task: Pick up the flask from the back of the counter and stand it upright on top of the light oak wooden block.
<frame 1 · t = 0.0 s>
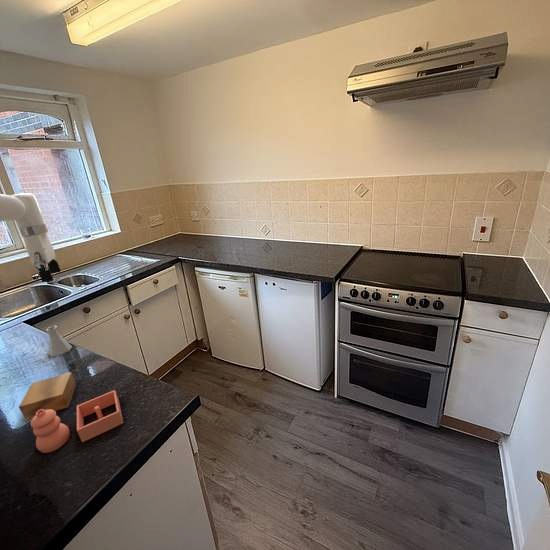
hand: (52, 276, 109), 26 cm above the countertop, tool pointing down, fingers open, 9 cm apart
pottery: (82, 430, 75), on the countertop
oak block: (53, 402, 85), on the countertop
flask: (61, 351, 110), on the countertop
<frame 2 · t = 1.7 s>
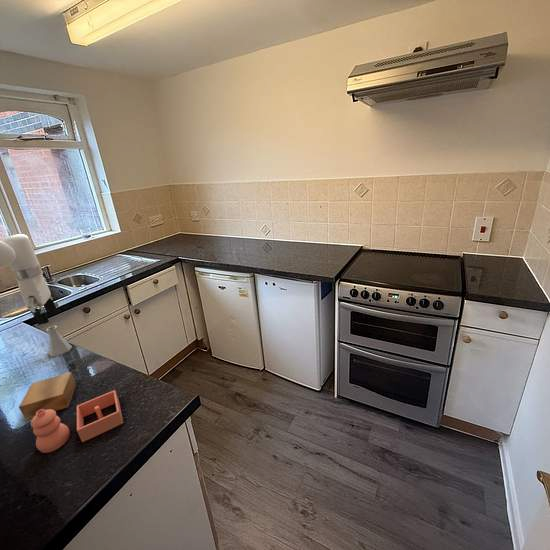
hand: (48, 317, 105), 14 cm above the countertop, tool pointing down, fingers open, 9 cm apart
nothing on the countertop moved.
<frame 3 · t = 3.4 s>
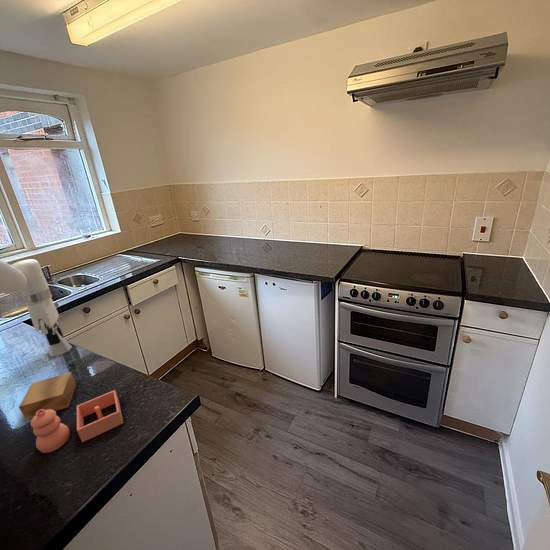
hand: (56, 340, 108), 5 cm above the countertop, tool pointing down, fingers closed on flask, 3 cm apart
flask: (61, 351, 110), on the countertop, touching gripper
everything else where it was.
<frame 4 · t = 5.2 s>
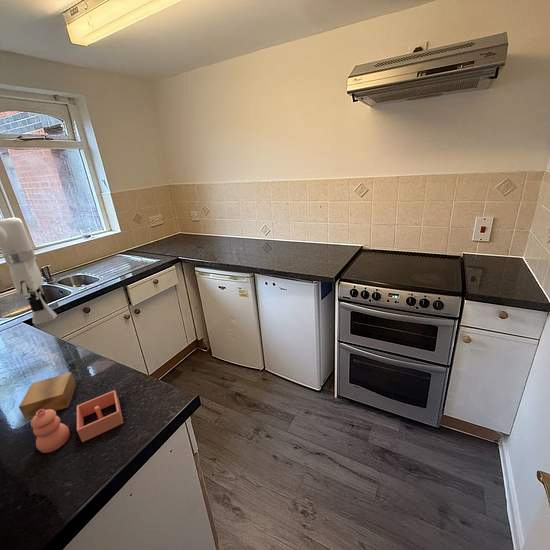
hand: (40, 307, 102), 19 cm above the countertop, tool pointing down, fingers closed on flask, 3 cm apart
flask: (45, 320, 104), point 14 cm above the countertop, touching gripper
everything else where it was.
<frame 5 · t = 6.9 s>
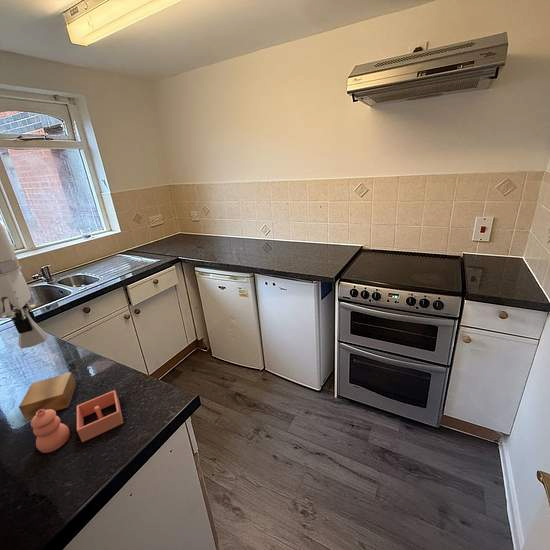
hand: (28, 327, 84), 21 cm above the countertop, tool pointing down, fingers closed on flask, 3 cm apart
flask: (34, 342, 86), point 16 cm above the countertop, touching gripper
everything else where it was.
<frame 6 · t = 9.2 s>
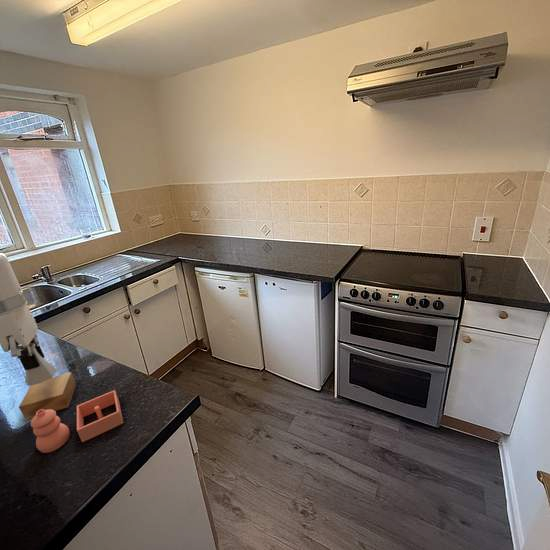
hand: (35, 363, 80), 14 cm above the countertop, tool pointing down, fingers closed on flask, 3 cm apart
flask: (42, 377, 82), point 9 cm above the countertop, touching gripper
everything else where it was.
when the fingers open (10 cm above the countertop, at t = 10.5 s): flask stays where it is, resting on oak block.
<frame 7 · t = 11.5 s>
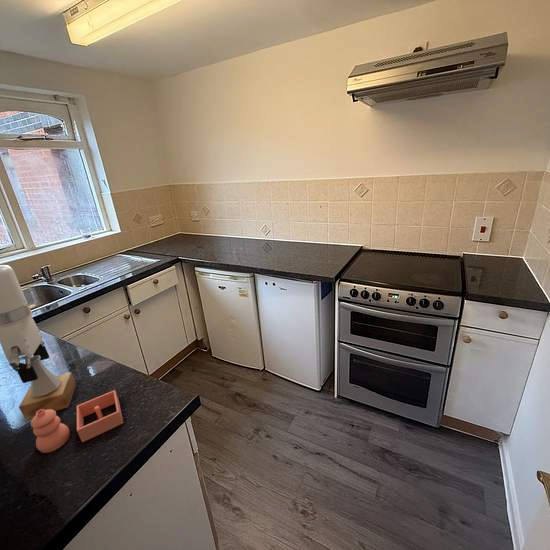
hand: (37, 369, 81), 12 cm above the countertop, tool pointing down, fingers open, 9 cm apart
flask: (47, 388, 84), point 5 cm above the countertop, touching oak block
everything else where it was.
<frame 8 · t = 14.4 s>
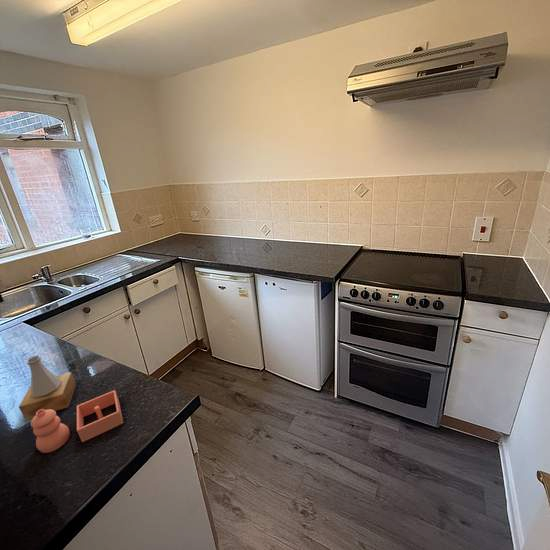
nothing on the countertop moved.
at the end: flask 0.0 cm off-centre on the oak block, point 4.8 cm above the oak block's base; flask tilted 0° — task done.
